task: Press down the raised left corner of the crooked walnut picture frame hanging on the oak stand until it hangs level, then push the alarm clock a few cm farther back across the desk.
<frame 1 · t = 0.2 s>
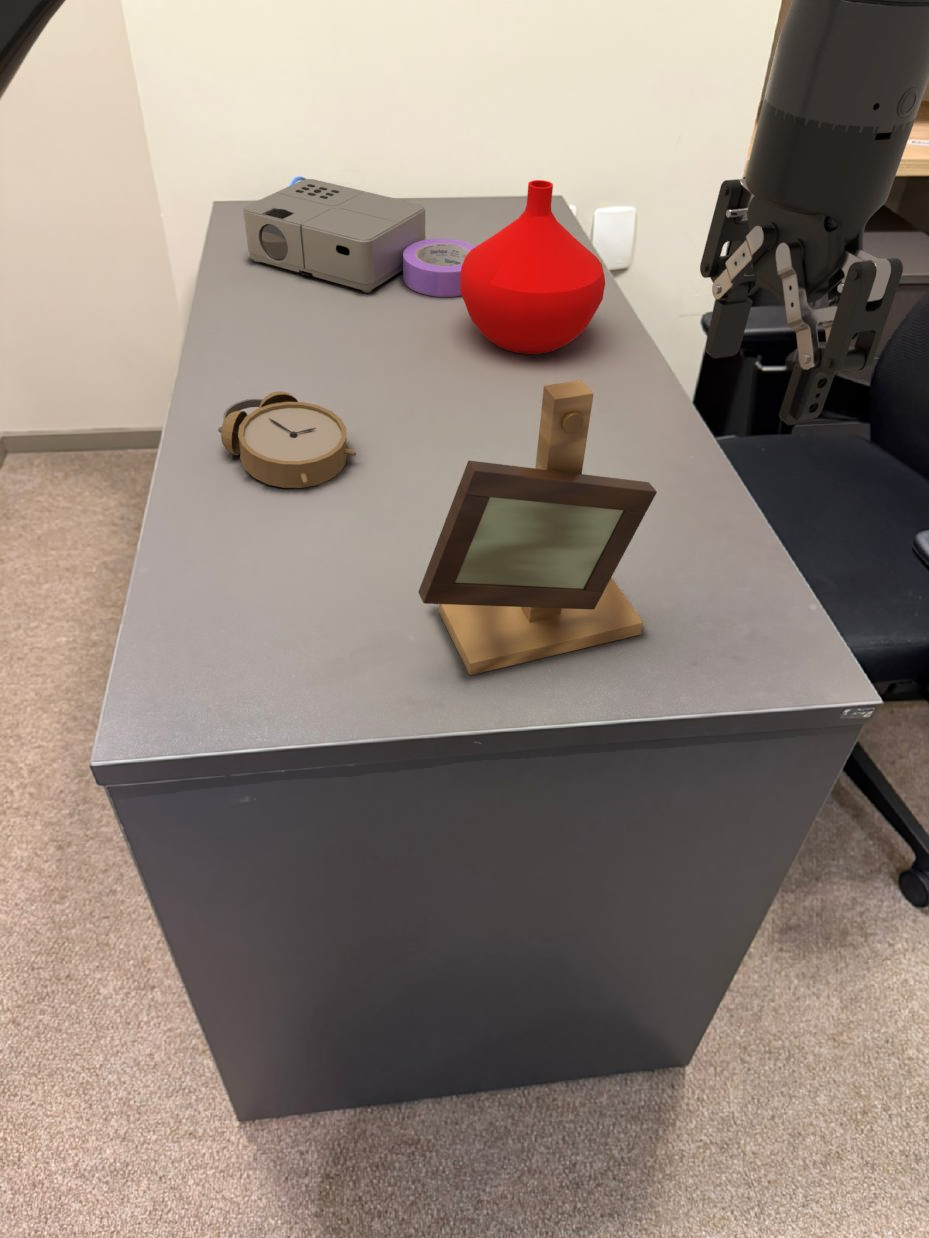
hand: (756, 386, 57), 27 cm above the table, tool pointing down, fingers open, 8 cm apart
vase: (527, 338, 119), on the table
frame: (537, 542, 69), point 11 cm above the table, hinge at 18.0°
alarm clock: (284, 454, 97), on the table
tape roll: (443, 281, 131), on the table
stand: (539, 623, 79), on the table
projector: (338, 261, 135), on the table
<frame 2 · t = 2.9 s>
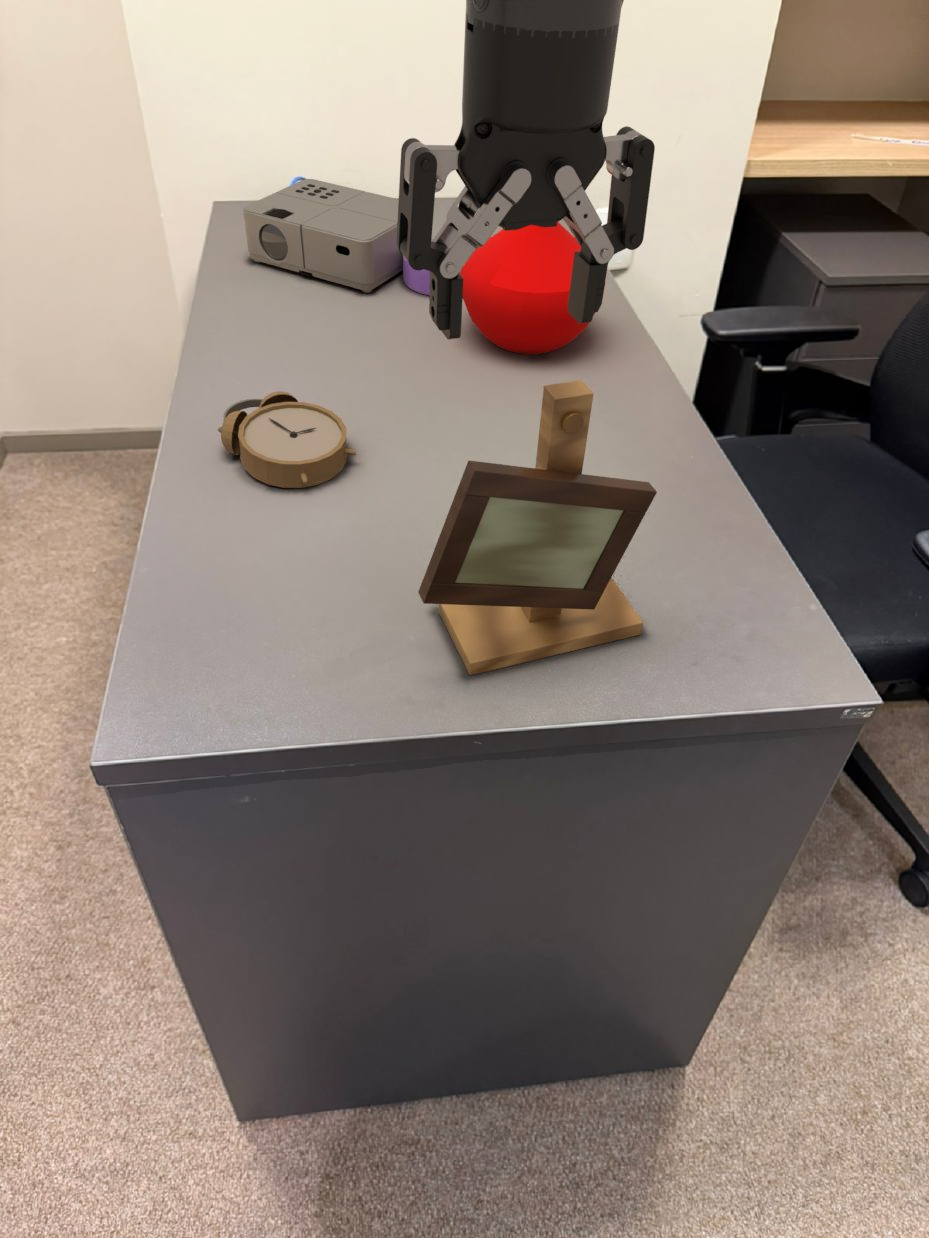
hand: (515, 325, 55), 30 cm above the table, tool pointing down, fingers open, 8 cm apart
nothing on the table moved.
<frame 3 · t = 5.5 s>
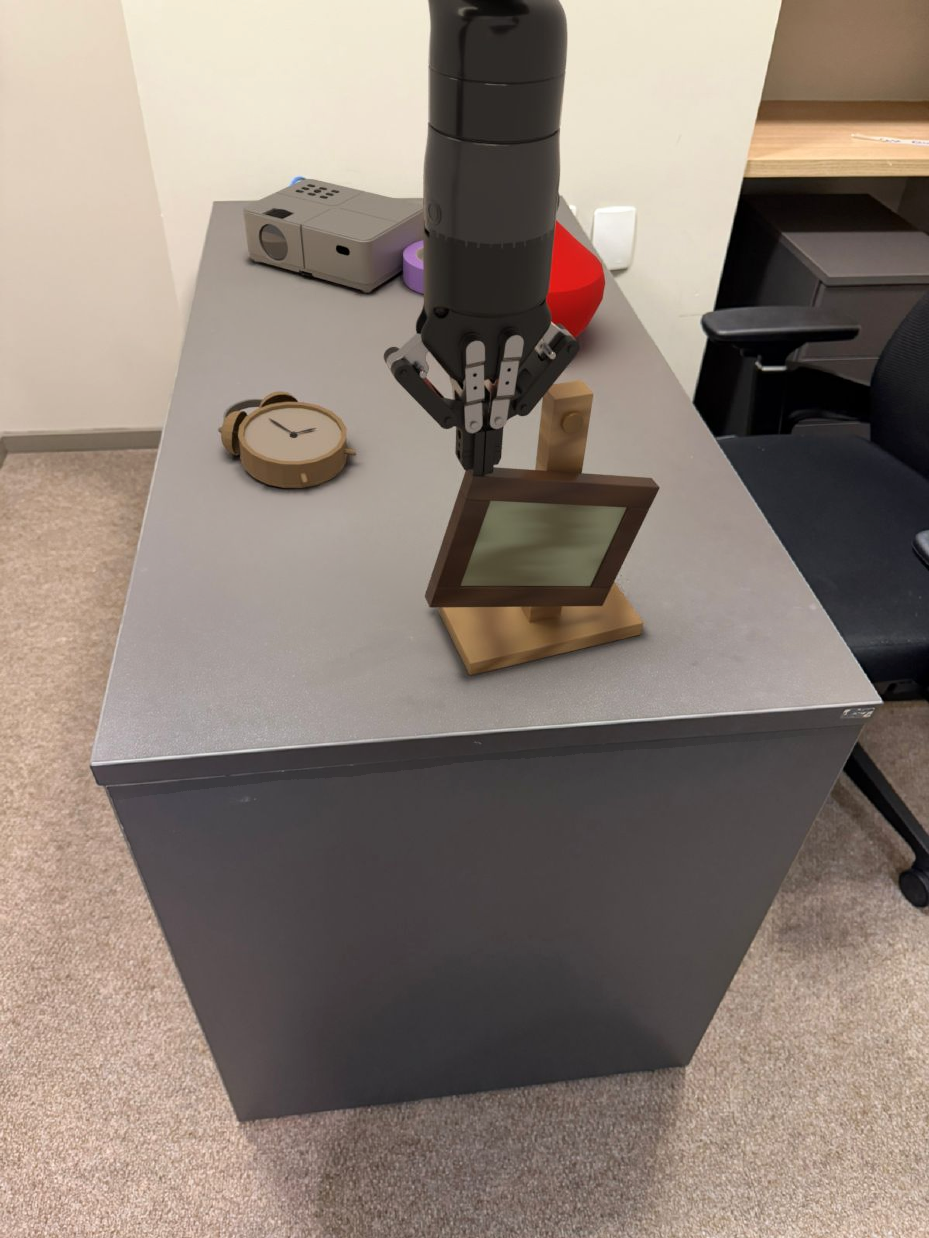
hand: (477, 468, 63), 19 cm above the table, tool pointing down, fingers closed
frame: (541, 542, 69), point 11 cm above the table, hinge at 15.1°, touching gripper
everything else where it was.
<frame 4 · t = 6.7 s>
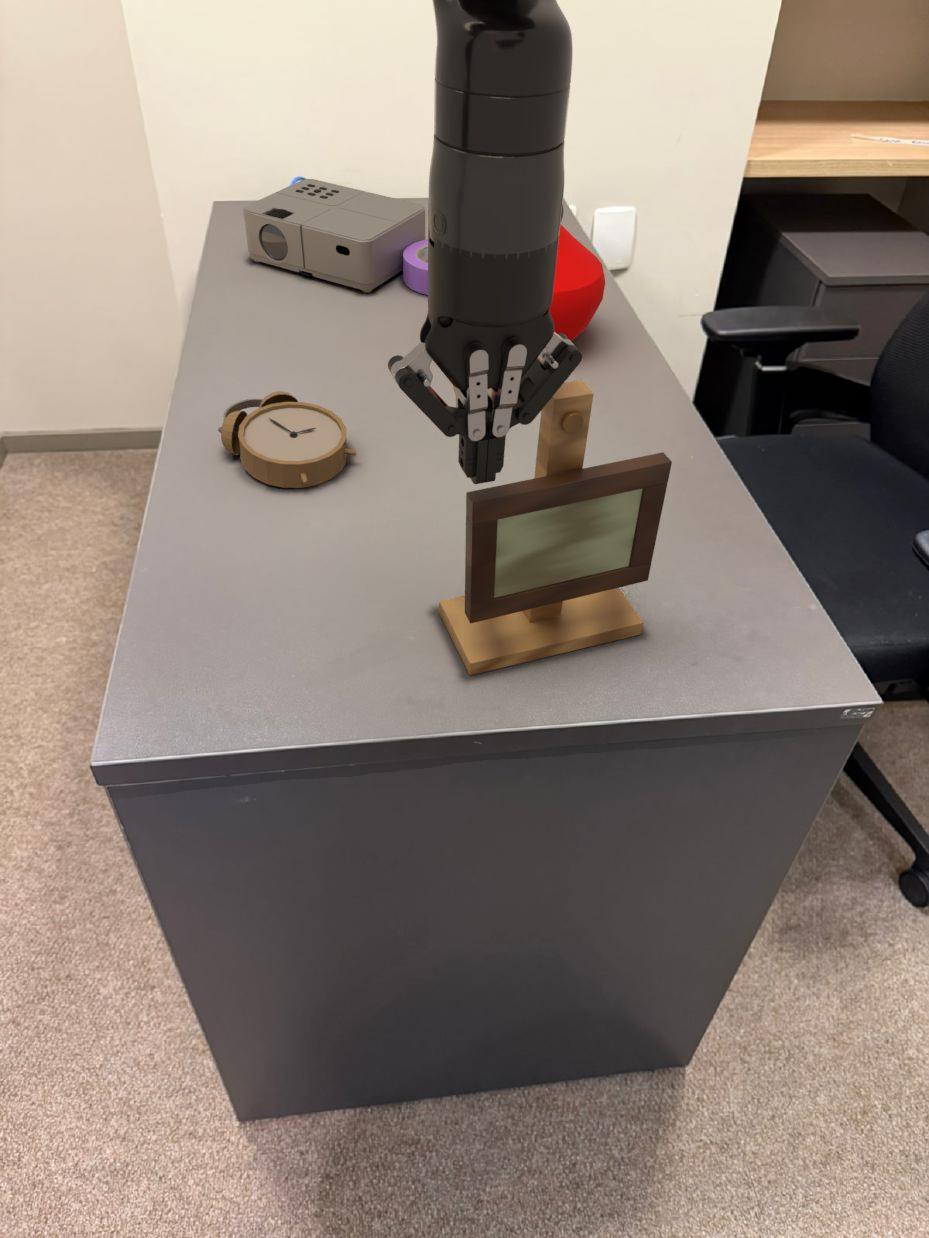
hand: (479, 476, 63), 19 cm above the table, tool pointing down, fingers closed
frame: (564, 540, 70), point 11 cm above the table, hinge at -1.4°
everything else where it was.
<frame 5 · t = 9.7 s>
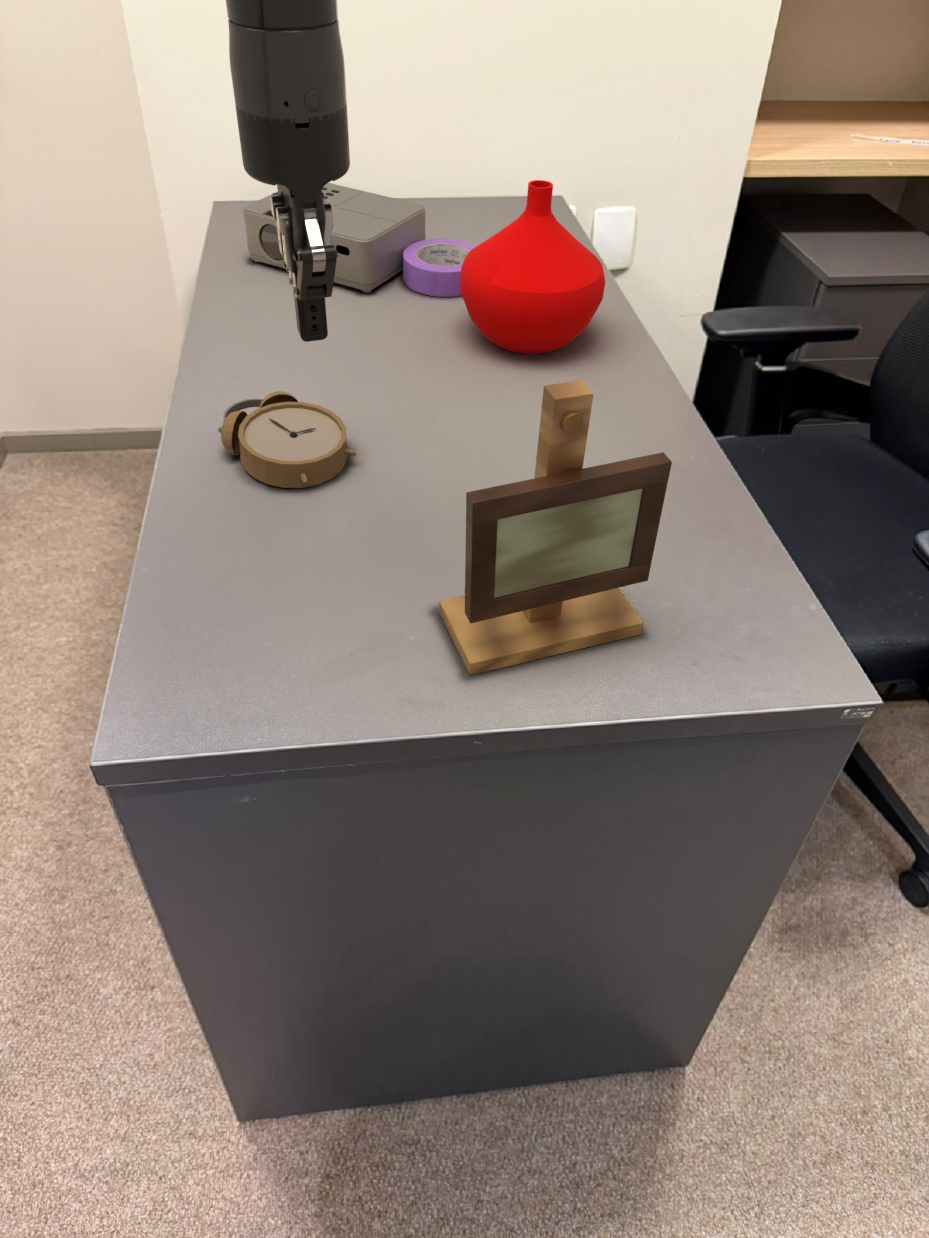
hand: (313, 336, 73), 21 cm above the table, tool pointing down, fingers closed
nothing on the table moved.
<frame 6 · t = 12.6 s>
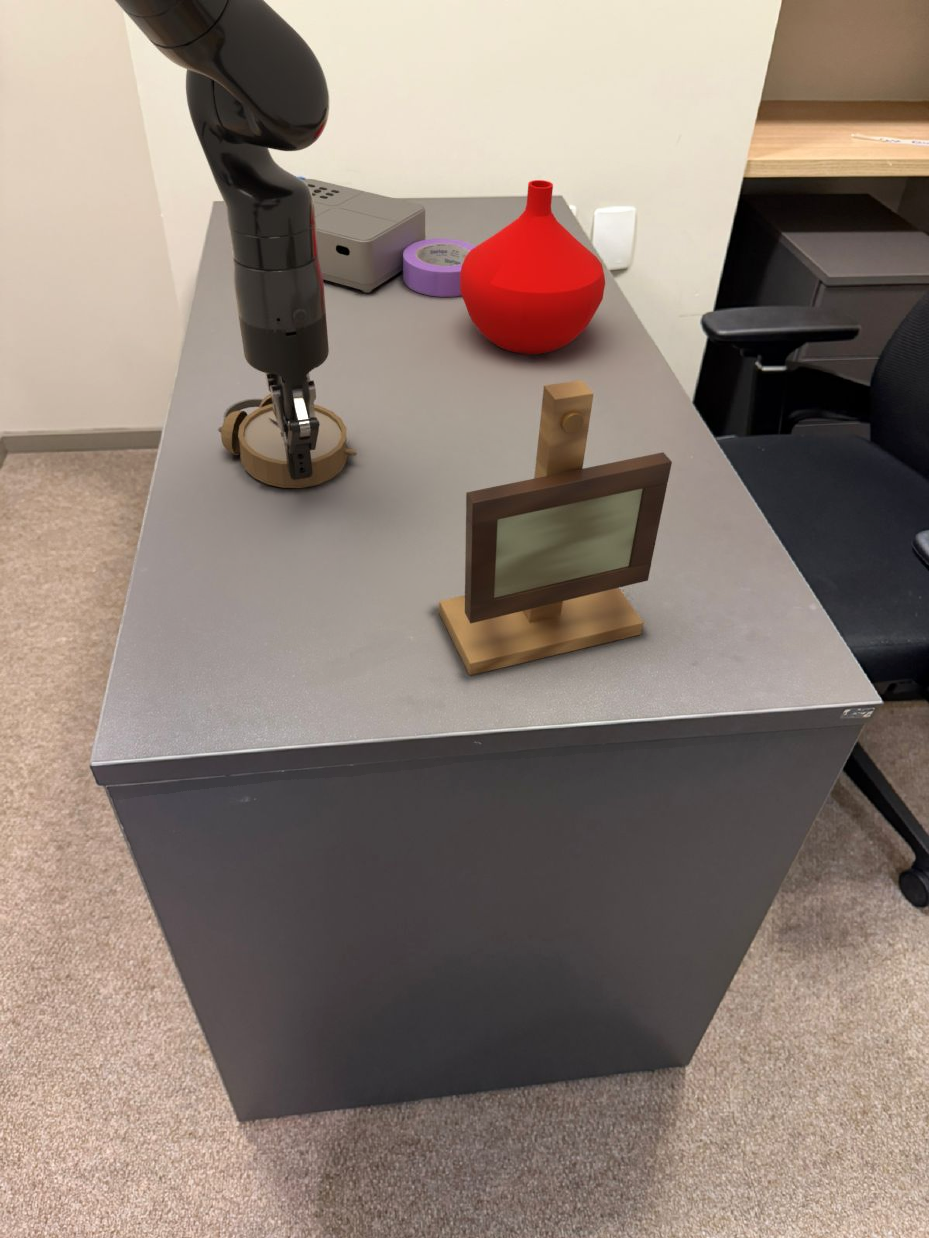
hand: (300, 474, 90), 3 cm above the table, tool pointing down, fingers closed
alarm clock: (284, 454, 97), on the table, touching gripper
everything else where it was.
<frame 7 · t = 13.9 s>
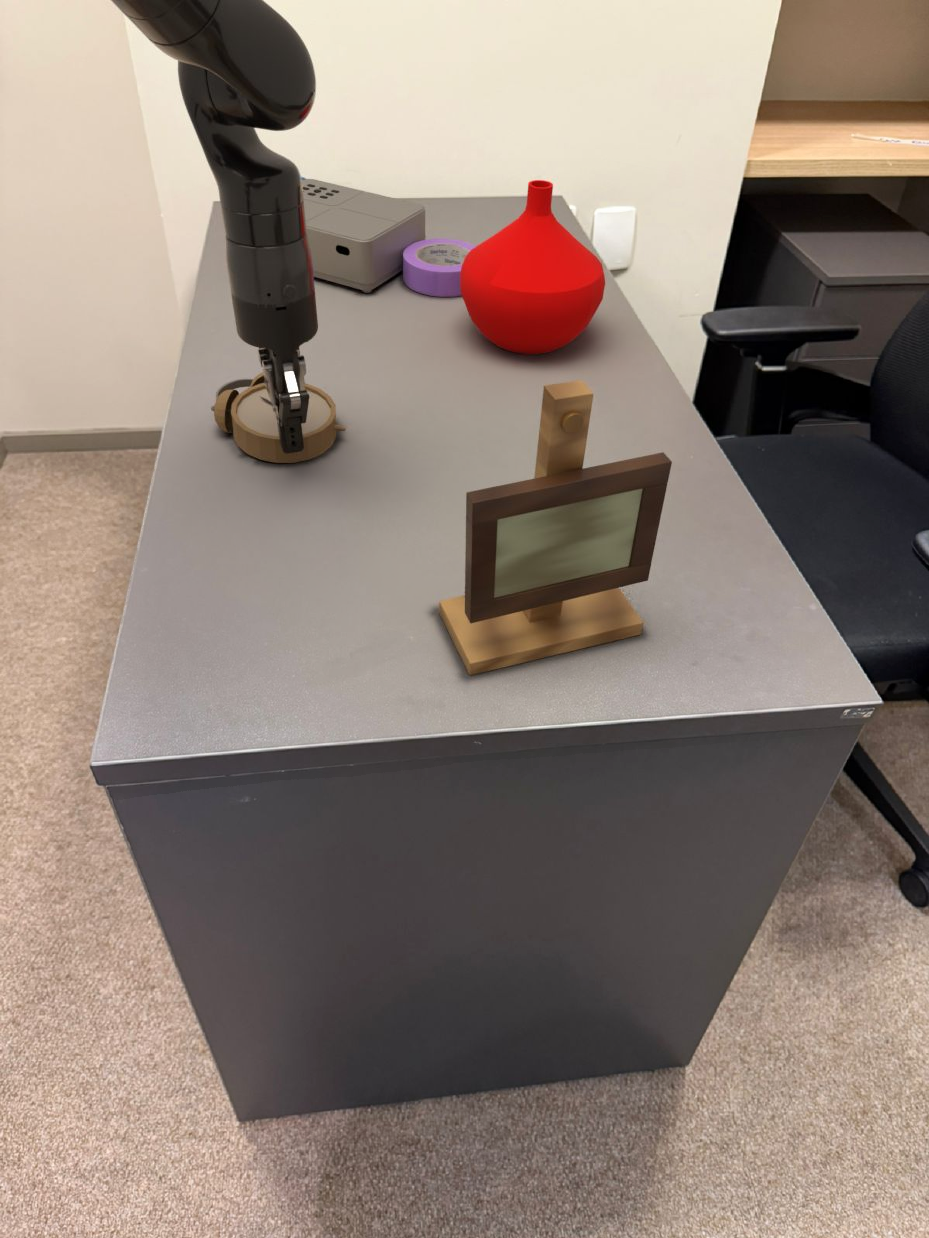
hand: (292, 449, 93), 3 cm above the table, tool pointing down, fingers closed
alarm clock: (275, 432, 100), on the table, touching gripper
everything else where it was.
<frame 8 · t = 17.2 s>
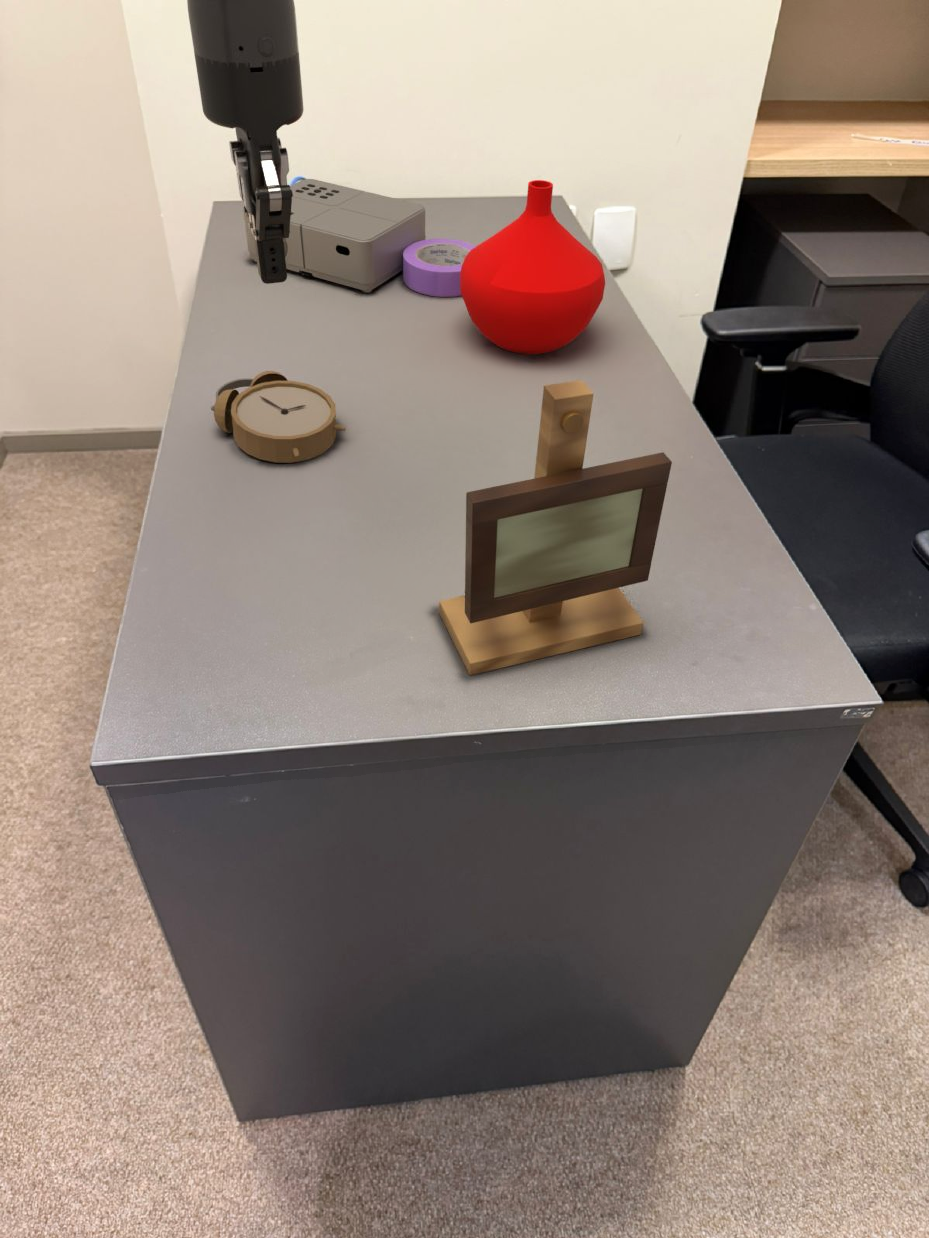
hand: (273, 279, 77), 22 cm above the table, tool pointing down, fingers closed
alarm clock: (275, 431, 100), on the table
everything else where it was.
at the end: frame at -1° (first picture: +18°); alarm clock inside the target area (1.5 cm from its centre), on the table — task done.
